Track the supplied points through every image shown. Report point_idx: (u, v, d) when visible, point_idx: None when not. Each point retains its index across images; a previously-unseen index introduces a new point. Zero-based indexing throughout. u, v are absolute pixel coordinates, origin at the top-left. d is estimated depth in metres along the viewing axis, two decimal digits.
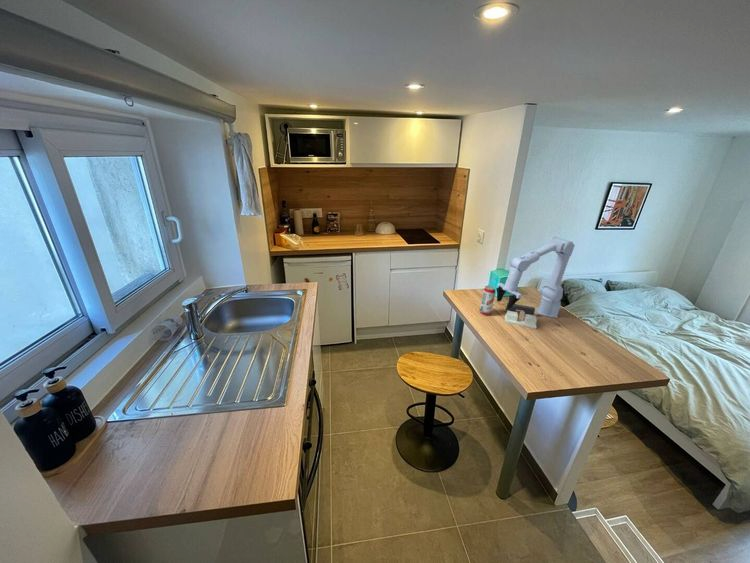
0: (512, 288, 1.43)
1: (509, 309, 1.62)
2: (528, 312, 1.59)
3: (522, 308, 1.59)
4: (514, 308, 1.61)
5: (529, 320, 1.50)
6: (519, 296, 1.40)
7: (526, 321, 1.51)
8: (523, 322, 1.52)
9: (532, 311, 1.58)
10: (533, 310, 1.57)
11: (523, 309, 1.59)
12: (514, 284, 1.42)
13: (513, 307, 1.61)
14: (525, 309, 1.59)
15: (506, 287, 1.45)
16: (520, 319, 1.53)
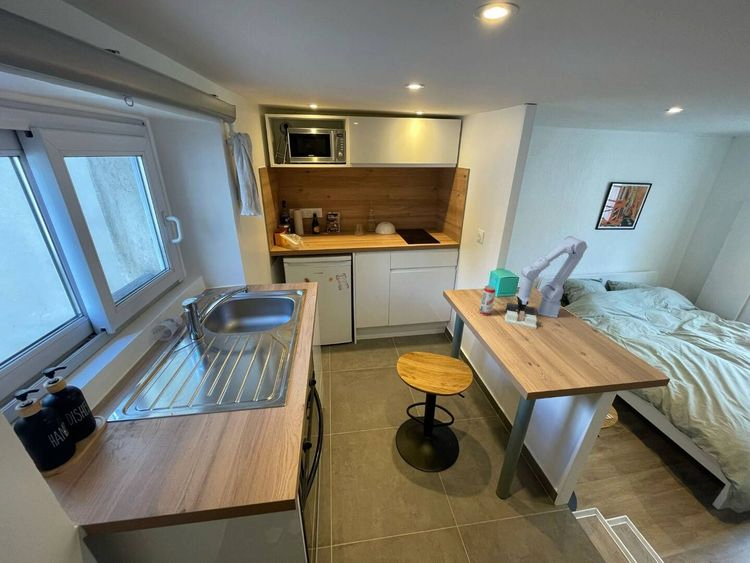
0: (522, 294, 1.55)
1: (509, 309, 1.62)
2: (528, 312, 1.59)
3: None
4: (514, 308, 1.61)
5: (529, 320, 1.50)
6: (523, 302, 1.51)
7: (526, 321, 1.51)
8: (523, 322, 1.52)
9: (532, 311, 1.58)
10: (533, 310, 1.57)
11: None
12: (523, 291, 1.54)
13: (513, 307, 1.61)
14: (525, 309, 1.59)
15: (518, 293, 1.58)
16: (520, 319, 1.53)
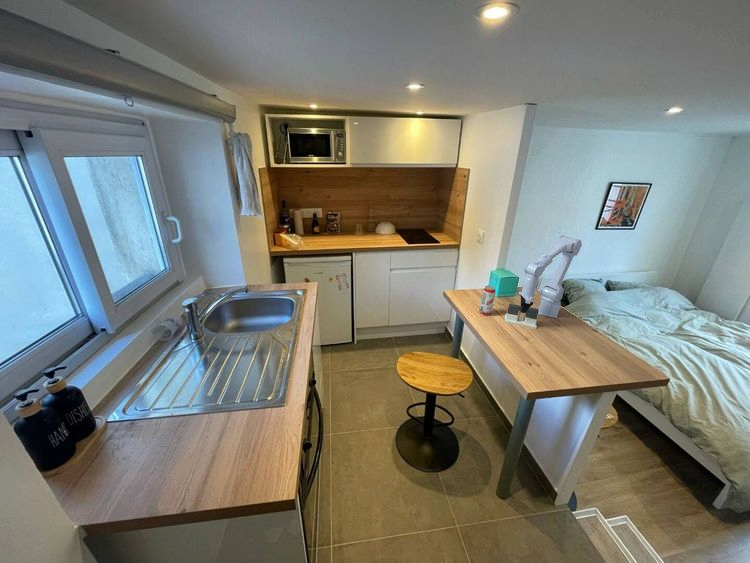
0: (525, 293, 1.45)
1: (511, 310, 1.53)
2: (531, 314, 1.49)
3: None
4: (516, 309, 1.51)
5: (529, 320, 1.50)
6: (527, 301, 1.42)
7: (526, 321, 1.51)
8: (523, 322, 1.52)
9: (535, 312, 1.48)
10: (537, 312, 1.48)
11: None
12: (527, 289, 1.44)
13: (515, 308, 1.51)
14: (528, 310, 1.49)
15: None
16: (520, 319, 1.53)
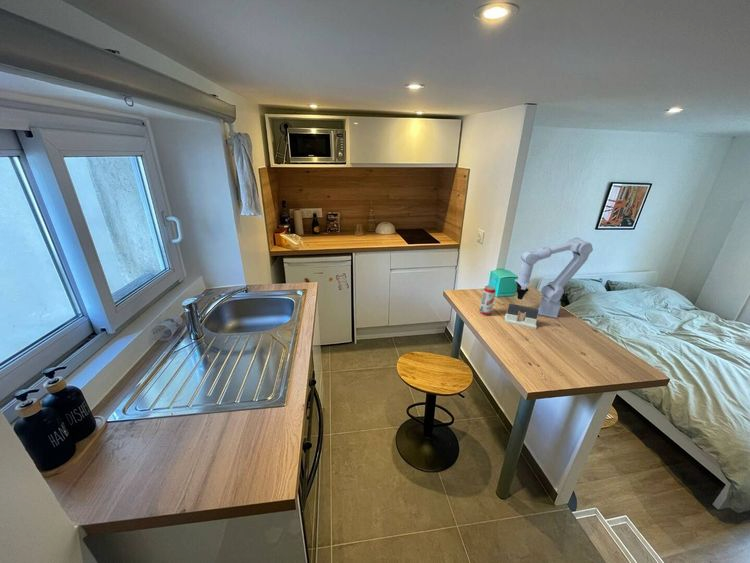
0: (521, 280, 1.53)
1: (511, 310, 1.53)
2: (531, 314, 1.49)
3: (525, 309, 1.50)
4: (516, 309, 1.51)
5: (529, 320, 1.50)
6: (523, 287, 1.50)
7: (526, 321, 1.51)
8: (523, 322, 1.52)
9: (535, 312, 1.48)
10: (537, 312, 1.48)
11: (526, 310, 1.50)
12: (522, 276, 1.52)
13: (515, 308, 1.51)
14: (528, 310, 1.49)
15: (517, 279, 1.56)
16: (520, 319, 1.53)
